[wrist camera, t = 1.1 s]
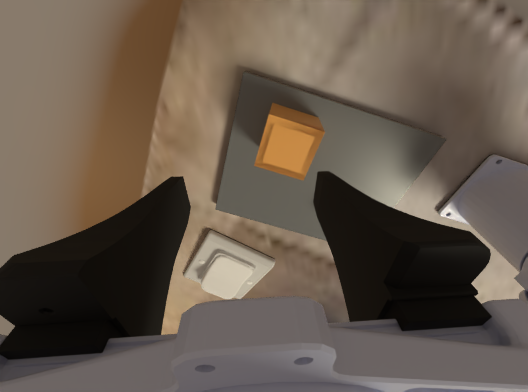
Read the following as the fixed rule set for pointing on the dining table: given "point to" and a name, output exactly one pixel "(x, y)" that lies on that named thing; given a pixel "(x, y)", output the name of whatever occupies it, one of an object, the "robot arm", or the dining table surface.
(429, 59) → the dining table surface
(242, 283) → the light switch
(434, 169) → the dining table surface
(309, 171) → the board
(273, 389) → the robot arm
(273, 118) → the orange panelled cube
